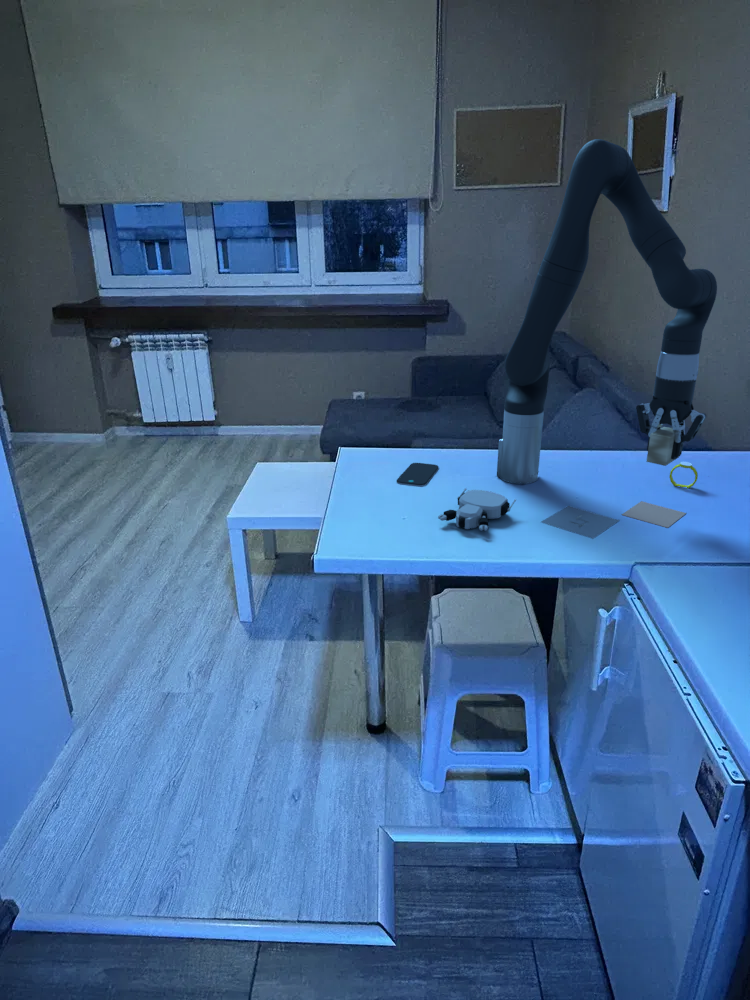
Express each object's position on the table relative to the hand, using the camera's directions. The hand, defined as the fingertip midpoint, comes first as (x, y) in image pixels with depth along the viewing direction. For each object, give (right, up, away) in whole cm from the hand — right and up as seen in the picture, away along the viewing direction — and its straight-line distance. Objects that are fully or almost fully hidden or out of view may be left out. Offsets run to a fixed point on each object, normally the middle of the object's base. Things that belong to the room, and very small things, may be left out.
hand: (663, 455), depth 143 cm
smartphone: (-50, -3, +30) cm, 58 cm away
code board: (-17, -14, +2) cm, 22 cm away
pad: (0, -13, +5) cm, 14 cm away
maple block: (0, -1, 0) cm, 1 cm away
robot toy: (-39, -14, +4) cm, 41 cm away
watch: (+13, -6, +21) cm, 25 cm away
